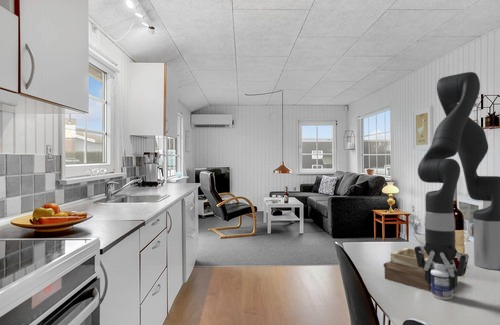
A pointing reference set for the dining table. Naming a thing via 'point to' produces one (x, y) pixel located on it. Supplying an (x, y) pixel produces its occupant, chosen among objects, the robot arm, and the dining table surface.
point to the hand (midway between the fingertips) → (440, 285)
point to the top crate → (407, 259)
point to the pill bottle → (440, 282)
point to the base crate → (406, 276)
